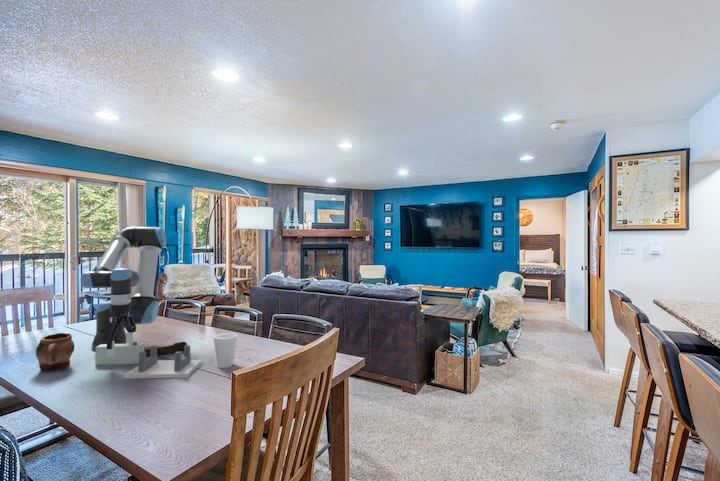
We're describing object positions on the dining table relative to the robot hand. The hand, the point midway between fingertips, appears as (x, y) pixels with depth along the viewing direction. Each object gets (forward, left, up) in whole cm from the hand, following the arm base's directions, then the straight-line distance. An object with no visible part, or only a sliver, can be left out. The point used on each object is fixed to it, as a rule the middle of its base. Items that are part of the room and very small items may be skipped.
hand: (120, 351), depth 155 cm
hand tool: (-13, +14, -6) cm, 19 cm away
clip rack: (+10, +24, -5) cm, 26 cm away
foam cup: (+5, +47, -5) cm, 48 cm away
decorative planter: (+7, -22, -5) cm, 24 cm away
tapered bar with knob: (0, 0, -5) cm, 5 cm away
